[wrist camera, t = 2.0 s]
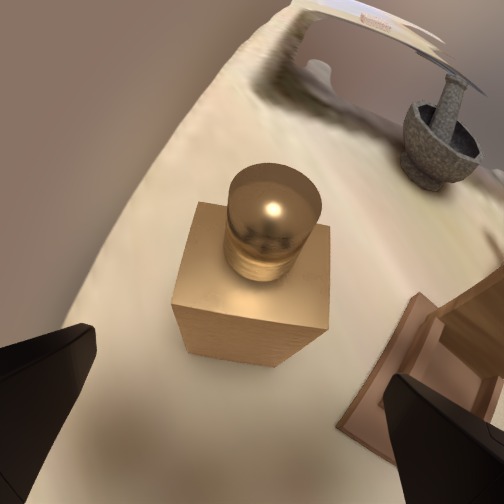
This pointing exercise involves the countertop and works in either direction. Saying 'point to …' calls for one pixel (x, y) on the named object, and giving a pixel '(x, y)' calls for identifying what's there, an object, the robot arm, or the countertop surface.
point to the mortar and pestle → (439, 140)
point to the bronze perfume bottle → (256, 270)
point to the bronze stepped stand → (438, 359)
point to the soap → (375, 22)
